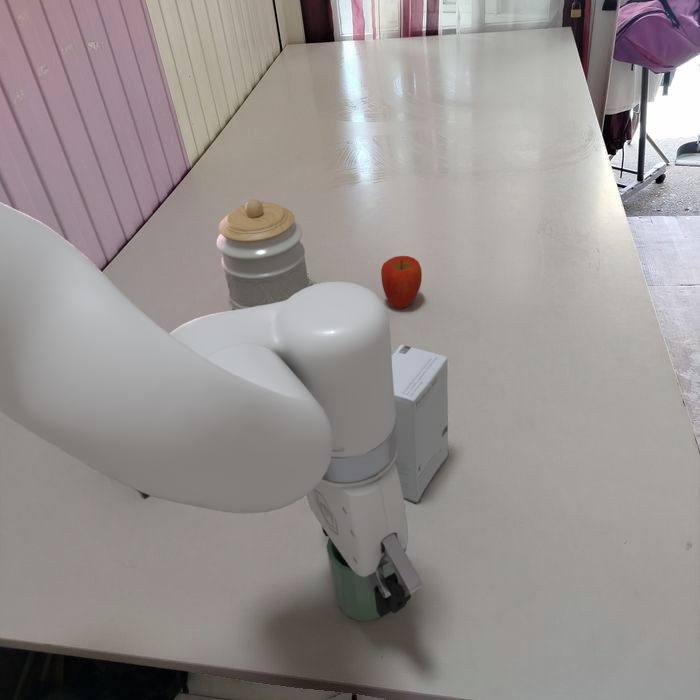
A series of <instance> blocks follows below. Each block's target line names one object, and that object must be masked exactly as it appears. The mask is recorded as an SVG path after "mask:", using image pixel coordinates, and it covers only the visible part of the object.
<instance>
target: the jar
mask: <svg viewBox="0 0 700 700" xmlns="http://www.w3.org/2000/svg"><path fill="white" fill-rule="evenodd" d="M295 220H296V219H295V215H294V213H293V212H292V211H291V210H290V209H288V208H287V207H284V206H280V205H279V204H277V203H273V202H267V201H266V202H264V201H260V200H259V199H256V198H251V199H249V200H247V202H246V203H245V204H244V205H241V206H239V207H237V208H235V209H233V210H231V211H230V212H229V214H227V215H226V216H225V217H223V219H222V220H221V221H220V223H219V224H218V231H219V235H218V237H217V238H216V247H217V250H219V252H220V253H221V254H222V257H221V262H220V263H221V267H222V269H223V271H224V275H225V279H226V283H227V289H228V297H229V301H230V304H231V307H232V308H233V310H238V309H244V308H250V307H256V306H261V305H267V304H272V303H276V302H281V301H285V300H287V299H289V298H290V297H291V296H293V295H294V294H295V293H297V292H299V291H300V290H302V289H304V288H307V287H309V286H311V283H310V280H309V278H308V272H307V270H308V269H307V265H306V257H305V254H306V249H305V247H304V245H303V243H302V242H301V239H302V236H303V229H302V226H300V224H299V223H298V222H297V221H295Z"/></svg>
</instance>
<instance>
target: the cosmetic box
mask: <svg viewBox="0 0 700 700" xmlns="http://www.w3.org/2000/svg"><path fill="white" fill-rule="evenodd" d="M448 361H449V358H448V356H446V355H443V354H439V353H435V352H431V351H428V350H424V349H419V348H416V347H412V346H409V345H405V344H400V345H399V346H398V347H397V349H396V350H395V351H394V352H393V353H392V369H393V384H394V399H395V415H396V416H395V417H396V432H397V445H398V452H397V456H396V459H395V462H394V463H395V465H396V468H397V471H398V475H399V480H400V484H401V489H402V494H403V499H406V500H408V501H410V502H412V503H415V504H417V503H418V502H419V501H420V499H421V497H422V495H423V493H424V492H425V490H426V488H427V487H428V485H429V484H430V482H431V480H432V479H433V477H434V476H435V474H436V473H437V472H438V470H439V469H440V467H441V466H442V464H443V463H444V462H445V461H446V459H447V458H448V455H449V430H448V429H449V426H448V425H449V419H448V417H449V415H448V414H449V413H448V412H449V411H448V409H449V402H448V401H449V399H448V398H449V397H448V395H449V393H448Z"/></svg>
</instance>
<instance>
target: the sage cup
mask: <svg viewBox="0 0 700 700" xmlns="http://www.w3.org/2000/svg"><path fill="white" fill-rule="evenodd" d="M326 552H327V557H328V562H329V568H330V574H331V580H332V585H333V590H334V595H335V600H336V603H337V605H338V607H339V609H340V610H341V611H342V612H343V614H345V615H346V616H347V617H349V618H351V619H354V620H356V621H363V622H368V621H374V620H377V619H379V618H381V617H380V616H379V614H378V613H377V609H376V601H375V593H374V588H375V586H376V585H377V584H376V581H375V579H374V577H373V574H370V575H368V576H366V577H362V576H359V575H358V574H356V573H355V572H354V571H353V570H352V569H351V567H350V566H349V565H348V563H347V562H346V560H345V559H344V558H343V556H342V555H341V553H340V552H339V550H338V549H337V548H336V546H335V545H334V543H333V542H332V540H331V539H330V537H328V539H327V542H326ZM381 552H383V551H382V549H381ZM380 568H381V571H382V573H383V575H384V578H386V577H388V576H389V575H391V574H393V573H394V571H393V569H392V567H391V565H390V563H389V562H388V563H386V564H385V565H383V566H381V567H380Z"/></svg>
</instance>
